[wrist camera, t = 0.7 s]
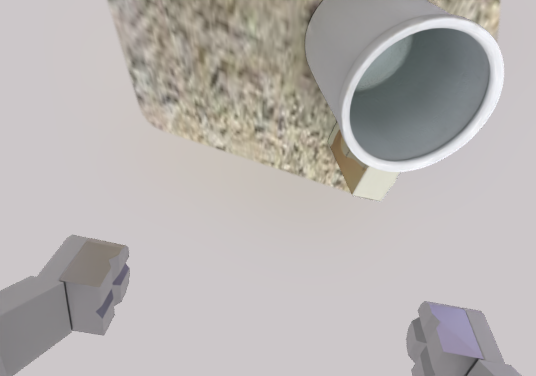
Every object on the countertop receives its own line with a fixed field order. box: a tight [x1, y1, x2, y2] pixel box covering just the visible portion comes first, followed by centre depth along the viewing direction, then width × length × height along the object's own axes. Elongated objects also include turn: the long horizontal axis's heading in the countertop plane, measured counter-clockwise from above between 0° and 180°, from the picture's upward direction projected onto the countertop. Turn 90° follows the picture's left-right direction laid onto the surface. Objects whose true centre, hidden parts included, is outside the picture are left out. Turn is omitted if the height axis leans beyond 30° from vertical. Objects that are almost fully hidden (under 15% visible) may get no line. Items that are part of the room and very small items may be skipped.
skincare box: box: [328, 122, 401, 202], centre depth 53 cm, size 6×4×12 cm
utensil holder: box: [305, 0, 504, 172], centre depth 44 cm, size 15×15×18 cm
